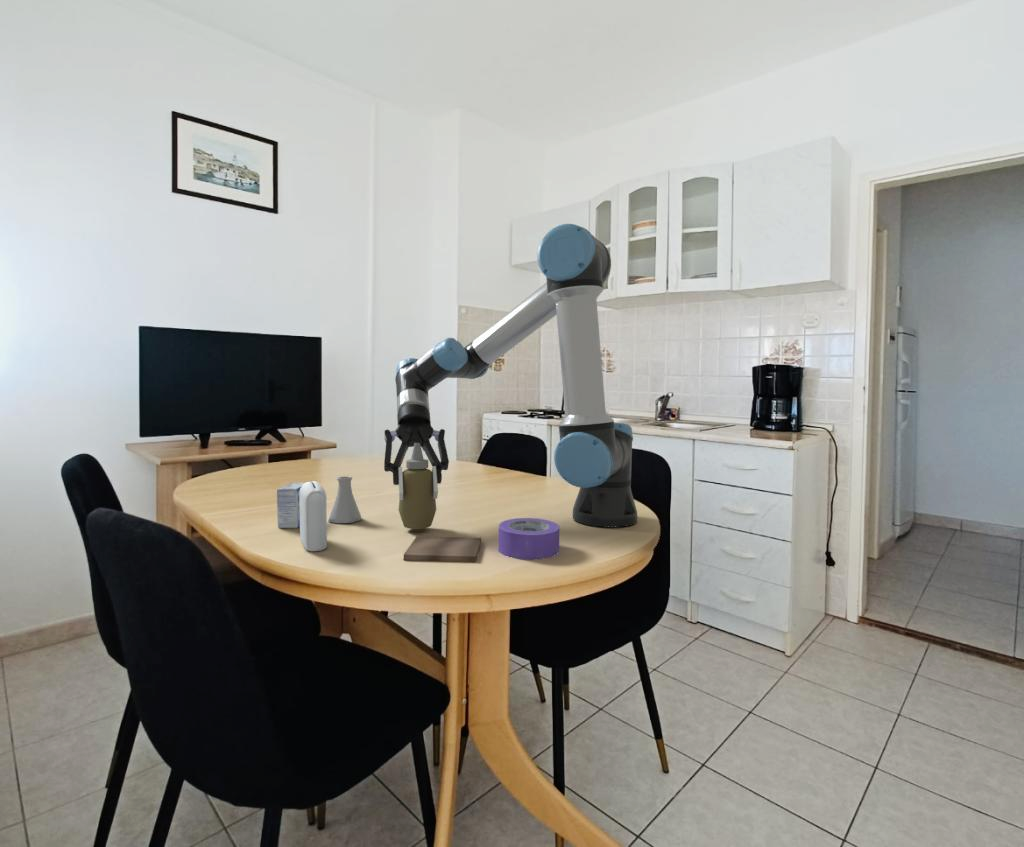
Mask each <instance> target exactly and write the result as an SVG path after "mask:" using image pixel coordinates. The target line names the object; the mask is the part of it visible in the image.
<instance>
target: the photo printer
mask: <svg viewBox="0 0 1024 847" xmlns="http://www.w3.org/2000/svg"><path fill="white" fill-rule="evenodd" d="M303 483H304V484H303V485H302V487H301V489H300V493H299V496H300V527H299V537H300V542H301V544H302V546H303V547H304V550H306V551H309V552H318V551H319V552H320V551H324V550H325V549H326V548H327V547H328V533H327V532H328V531H327V530H328V528H327V527H328V526H327V525H328V524H327V522H328V518H327V513H328V512H327V492H326V491H325V488H324V487H323V485H322V484H320V483H319V482H318V481H316V480H313V481H307V482H303Z"/></svg>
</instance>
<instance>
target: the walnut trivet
mask: <svg viewBox="0 0 1024 847" xmlns="http://www.w3.org/2000/svg"><path fill="white" fill-rule="evenodd" d="M481 545H482V537H470V536H469V537H467V536H464V537H462V536H460V537H459V536H427V535H426V536H420V535H417V536H416V537H415V538H414V540H413V541H412V542H411V543H410V545H409V546H408V548H407V549H406V551H405V552H404V553H403V561H421V562H422V561H424V562H427V561H428V562H429V561H430V562H464V563H465V562H466V563H467V562H468V563H469V562H470V563H476V562H477V558H478V554H479V552H480V549H481Z"/></svg>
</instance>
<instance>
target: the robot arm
mask: <svg viewBox="0 0 1024 847" xmlns="http://www.w3.org/2000/svg"><path fill="white" fill-rule="evenodd" d="M536 256H537V257H536V258H537V264H538V267H539V269H540V271H541V273H542V274H543V275H544V276H545V278H546V282H545V283H544V284H542V285H541V286H540V287H539V288H537V289H536V290H535V291H534V292H532V293H531V294H530V295H528V296H527V297H526V298H525V299H524V300H522V301H521V302H520V303H518V305H516V306H515V307H513V308H512V309H511V310H510V311H508V313H506V314H505V315H503V316H502V317H501V318H500V319H499V320H497V321H496V322H495V323H493V324H492V325H491V326H489V327H488V328H487V329H485V330H484V331H483V332H482V333H481V334H479V336H477V337H475V339H473V340H472V341H471V342H470V343H468V344H467V345H465V346H464V345H462V343H461V342H460V341H458V340H456V339H455V337H447V338H445V339H443V340H442V341H440V342H437V344H435V345H434V346H433V347H432V348H431V349H429V350H428V351H427V352H426V353H425V354H424V355H422V356H421V357H420V358H419V359H418V358H414V357H413V358H412V357H411V358H408V359H403V360H401V361H400V362H399V363H398V364H397V366H396V370H395V389H396V390H395V391H396V412H397V415H396V416H397V418H396V419H397V427H396V428H395V430H392V431H391V430H390V429H385V430H384V441H385V450H384V451H385V452H384V464H383V465H384V466H383V468H384V472H391V473H392V483H393V485H394V486H398V500H403V475H402V472H403V466H402V464H403V461H404V459H405V456H406V454H407V452H408V450H409V448H412V447H413V448H414V443H420V445H421V450H422V452H424V453H425V455H426V457H427V460H428V462H429V463H430V465H431V471H432V472H433V498H434V499H435V500H436V499H438V494H439V488H438V487H439V486H438V484H442V482H443V481H442V480H443V477H442V476H443V474H442V471H443V470H444V471H448V469H449V465H450V464H449V463H450V460H449V456H448V451H447V447H446V441H445V434H446V430H445V429H443V428H441V429H440V430H435V429H434V428H433V427H432V425H431V413H430V402H429V400H430V399H429V391H430V390H432V388H434V387H435V386H437V385H438V384H440V383H441V382H443V381H444V380H445V379H447V378H448V379H467V380H468V379H469V380H472V379H473V380H474V379H477V378H478V379H479V378H481V377H483V376H484V375H486V373H487V372H488V370H489V367H490V366H491V365H492V364H493V363H495V362H496V361H497V360H498V359H500V358H501V357H502V356H504V355H505V354H506V353H508V352H509V351H510V350H512V349H513V348H514V347H516V346H517V345H519V343H521V342H522V341H524V340H525V339H526V338H528V337H529V336H531V335H532V334H533V333H534V332H535V331H537V330H539V329H540V328H541V327H542V326H544V325H545V324H547V323H548V322H549V321H550V320H552V319H553V318H554V317H556V322H557V333H558V347H559V357H560V368H561V383H562V384H561V385H562V392H563V393H562V394H563V408H564V417H563V418H562V420H561V421H560V422H559V424H558V434H559V442H558V443H557V445H556V447H555V450H554V456H553V459H554V460H553V461H554V465H555V466H554V467H555V468H556V471H557V472H558V474H559V476H560V477H561V478H562V479H563V480H564V481H565V482H566V483H568V484H569V485H571V486H573V487H577V488H579V490H578V493H577V495H576V498H575V501H574V504H573V506H572V507H573V508H572V517H573V518H572V519H574V520H573V521H575V522H576V521H577V523H579V522H580V523H579V524H582V523H583V525H585V524H587V525H586V526H590V525H593V526H592V527H597V526H604V527H603V528H616V527H615V526H626V525H631V524H634V523H636V522H637V523H638V510H637V506H636V503H635V500H634V496H633V492H632V488H631V485H632V460H633V459H632V458H633V442H634V441H633V440H634V436H633V428H632V426H631V425H630V424H628V423H620V422H615V421H614V419H613V418H612V417H611V416H610V415H609V414H608V413H607V411H606V399H605V387H604V376H603V375H604V374H603V363H602V362H603V361H602V353H601V352H602V349H601V337H600V326H599V325H600V324H599V313H598V312H599V310H598V302H597V301H598V298H599V296H600V295H601V294H602V292H603V291H604V284H605V283H606V281H607V280H608V277H609V275H610V273H611V269H612V259H611V254H610V251H609V250H608V248H607V247H606V245H605V244H604V243H603V242H602V241H601V240H598V239H597V238H596V237H595V236H594V235H593V234H592V233H591V232H590V231H589V230H588V229H586V228H585V227H583V226H580V225H577V224H574V223H563V224H559V225H557V226H555V227H553V228H552V229H550V230H549V231H548V232H547V233H546V234H545V235H544V237H543V238H542V239H541V241H540V243H539V245H538V249H537V254H536ZM396 437H397V438H398V439H399V440H400V441H401V444H400V447H399V449H398V452H397V454H396V456H395V458H394V461H393V462H392V451H393V450H392V449H393V442H394V441H395V438H396ZM432 437H434V440H435V441H436V442H437V448H438V453H439V458H440V459H439V458H438V455H437V453H436V452H435V450H434V448H433V446H432V444H431V441H430V440H431V438H432ZM637 523H636V524H637ZM634 525H635V524H634ZM605 526H607V527H605ZM608 526H609V527H608ZM611 526H612V527H611ZM613 526H614V527H613ZM631 526H632V525H631ZM626 527H627V526H626Z"/></svg>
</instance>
